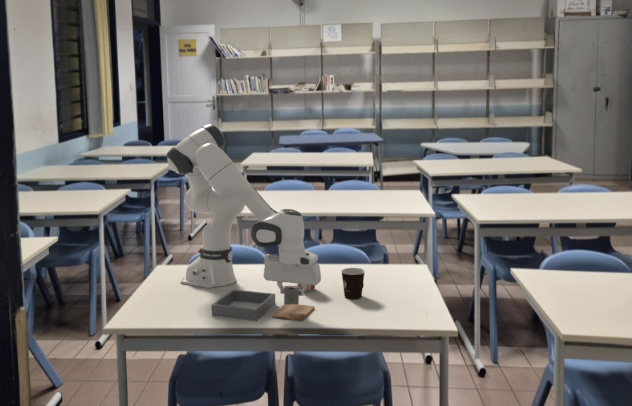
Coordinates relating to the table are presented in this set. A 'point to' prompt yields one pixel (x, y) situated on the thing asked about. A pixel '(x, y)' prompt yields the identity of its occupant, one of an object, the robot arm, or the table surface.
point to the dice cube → (291, 294)
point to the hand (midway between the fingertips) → (292, 294)
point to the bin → (254, 314)
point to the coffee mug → (353, 282)
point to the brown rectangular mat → (293, 312)
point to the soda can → (308, 288)
